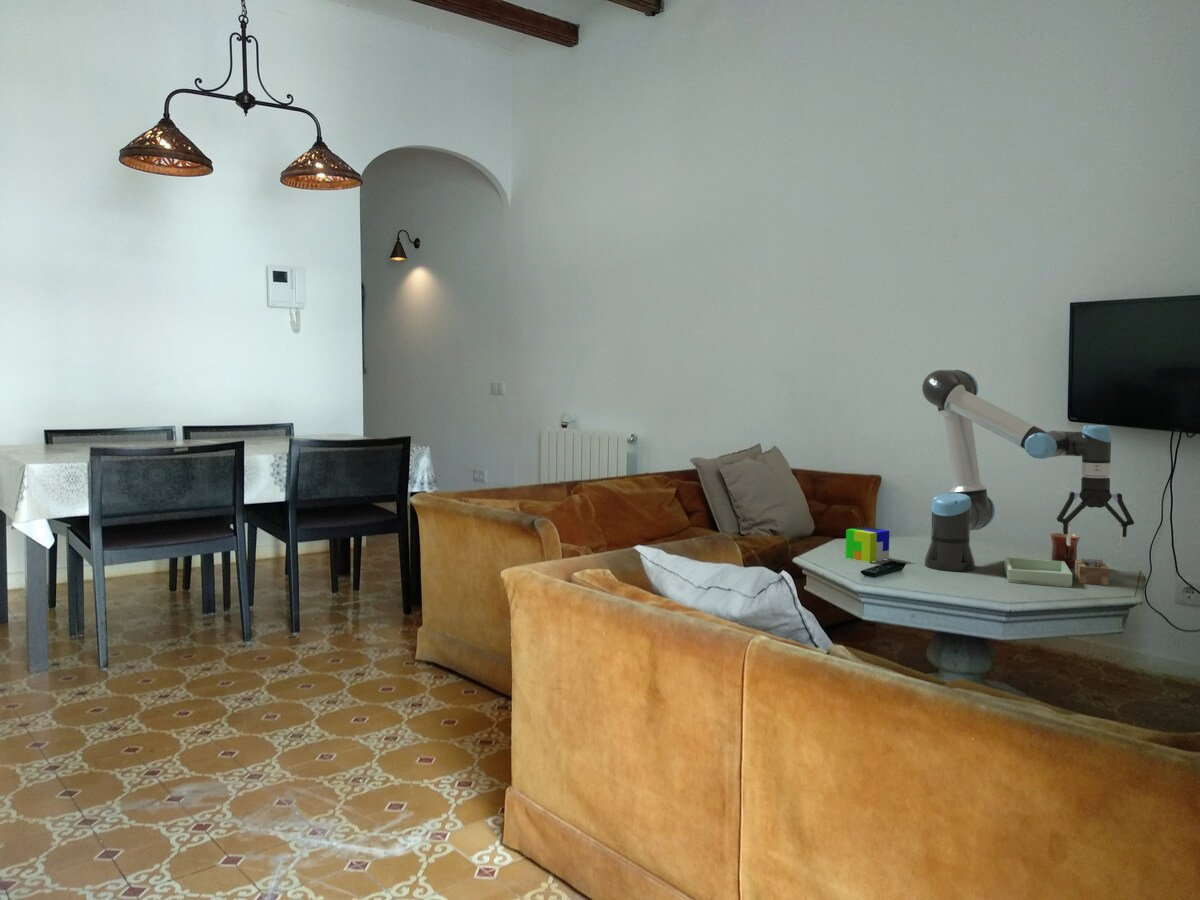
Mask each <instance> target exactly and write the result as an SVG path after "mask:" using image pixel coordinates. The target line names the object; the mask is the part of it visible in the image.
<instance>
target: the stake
mask: <svg viewBox="0 0 1200 900" xmlns="http://www.w3.org/2000/svg"><path fill="white" fill-rule="evenodd" d="M1081 560H1082V561H1081V562H1082V563H1087V566H1090V567H1096V563H1097V564H1102V562H1103V559H1102V558H1090V557H1087V558H1086V557H1081Z"/></svg>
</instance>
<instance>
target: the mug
mask: <svg viewBox="0 0 1200 900" xmlns="http://www.w3.org/2000/svg"><path fill="white" fill-rule="evenodd" d="M1049 537H1050V539H1051V557H1050V560H1053V561H1064V562H1065V563H1066V565H1067V566H1068V568H1069V569H1073V568H1075V560H1078V545H1079V541H1080V539H1081V536H1080V535H1078V534H1074V533H1071V546H1068V545H1067V534H1064V533H1063V532H1053V533H1050V534H1049Z"/></svg>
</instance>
